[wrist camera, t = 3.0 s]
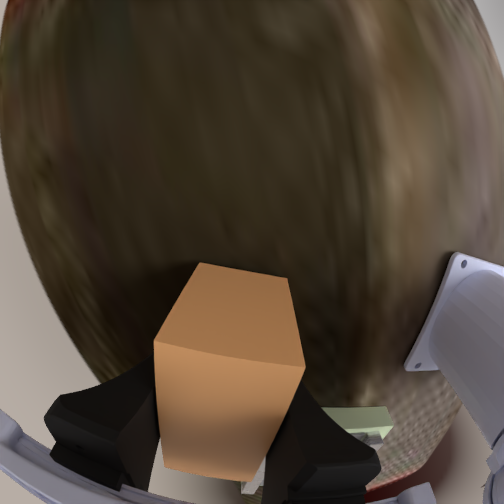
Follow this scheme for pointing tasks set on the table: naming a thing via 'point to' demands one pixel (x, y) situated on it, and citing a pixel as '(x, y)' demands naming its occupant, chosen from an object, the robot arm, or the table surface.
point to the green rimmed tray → (354, 422)
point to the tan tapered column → (226, 371)
